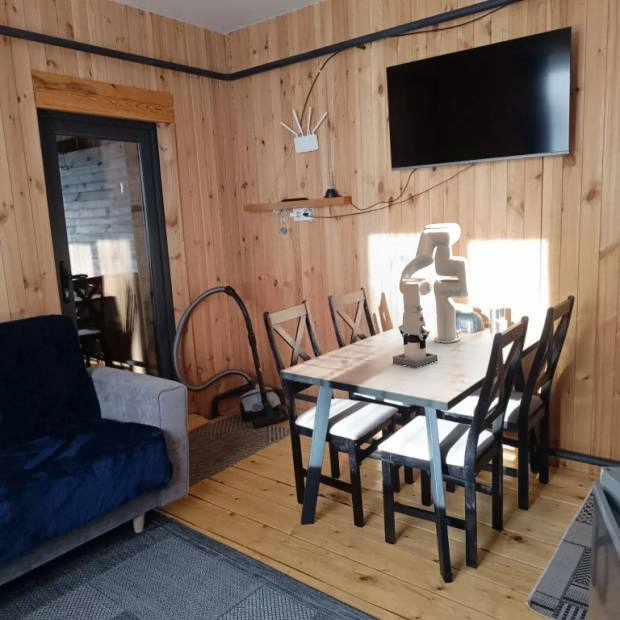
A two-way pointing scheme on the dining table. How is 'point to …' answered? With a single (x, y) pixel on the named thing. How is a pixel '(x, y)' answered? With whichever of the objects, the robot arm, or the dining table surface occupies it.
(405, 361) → the tray
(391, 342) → the dining table surface
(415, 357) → the medicine bottle
